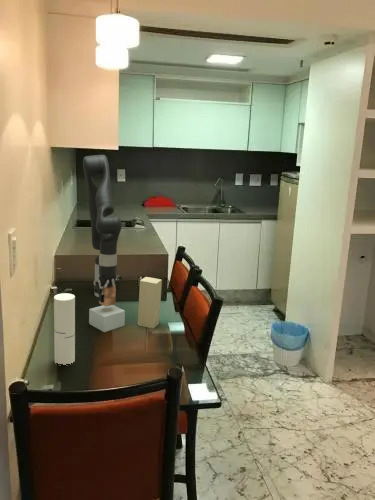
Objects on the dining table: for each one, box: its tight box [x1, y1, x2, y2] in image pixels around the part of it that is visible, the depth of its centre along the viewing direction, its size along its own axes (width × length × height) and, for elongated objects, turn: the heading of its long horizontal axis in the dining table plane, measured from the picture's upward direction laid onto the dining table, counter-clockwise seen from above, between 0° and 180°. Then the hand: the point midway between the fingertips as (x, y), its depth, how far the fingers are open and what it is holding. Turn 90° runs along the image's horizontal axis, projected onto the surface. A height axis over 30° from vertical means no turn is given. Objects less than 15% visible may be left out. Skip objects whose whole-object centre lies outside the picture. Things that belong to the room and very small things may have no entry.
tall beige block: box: [137, 276, 163, 329], centre depth 197 cm, size 8×7×21 cm
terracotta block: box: [98, 286, 117, 307], centre depth 193 cm, size 5×5×8 cm
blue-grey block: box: [88, 304, 126, 333], centre depth 195 cm, size 11×11×7 cm
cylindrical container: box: [53, 292, 76, 366], centre depth 160 cm, size 7×7×25 cm
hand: (107, 300), depth 193 cm, fingers closed on terracotta block, 5 cm apart
